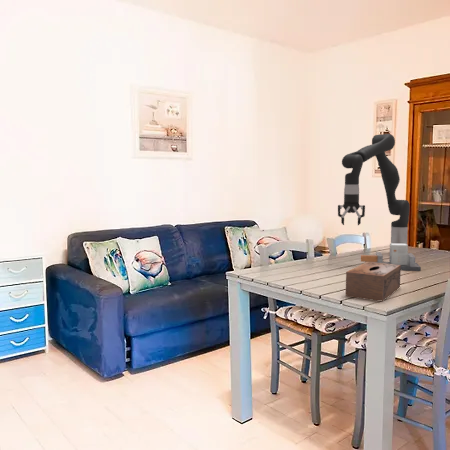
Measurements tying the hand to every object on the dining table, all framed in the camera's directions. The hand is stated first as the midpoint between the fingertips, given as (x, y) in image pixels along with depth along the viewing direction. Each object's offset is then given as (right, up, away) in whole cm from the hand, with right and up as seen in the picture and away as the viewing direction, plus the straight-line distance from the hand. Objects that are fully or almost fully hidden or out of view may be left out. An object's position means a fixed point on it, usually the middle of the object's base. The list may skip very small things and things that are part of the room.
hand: (350, 224), depth 239 cm
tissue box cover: (-5, -28, -51) cm, 59 cm away
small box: (+23, -21, -4) cm, 31 cm away
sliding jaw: (+10, -20, 0) cm, 23 cm away
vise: (+20, -22, -3) cm, 30 cm away
